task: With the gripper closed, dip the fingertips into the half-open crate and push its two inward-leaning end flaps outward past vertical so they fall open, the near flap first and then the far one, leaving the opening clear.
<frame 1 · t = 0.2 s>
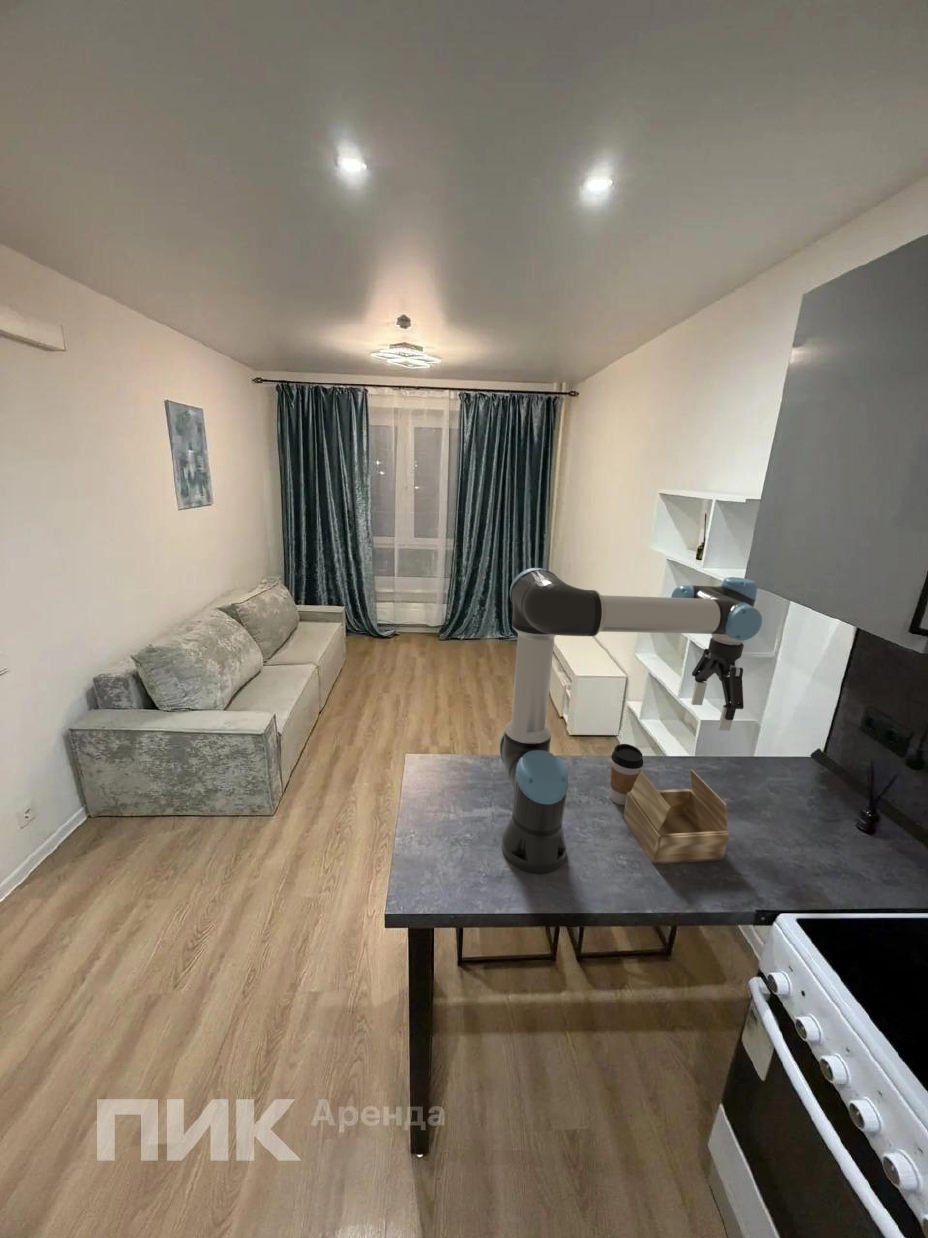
hand: (709, 716, 130), 28 cm above the table, fingers open, 13 cm apart
far flap: (708, 797, 123), point 12 cm above the table, hinge at -15.0°
crate: (670, 838, 126), on the table
near flap: (649, 799, 121), point 12 cm above the table, hinge at -15.0°
coffee cup: (620, 798, 140), on the table
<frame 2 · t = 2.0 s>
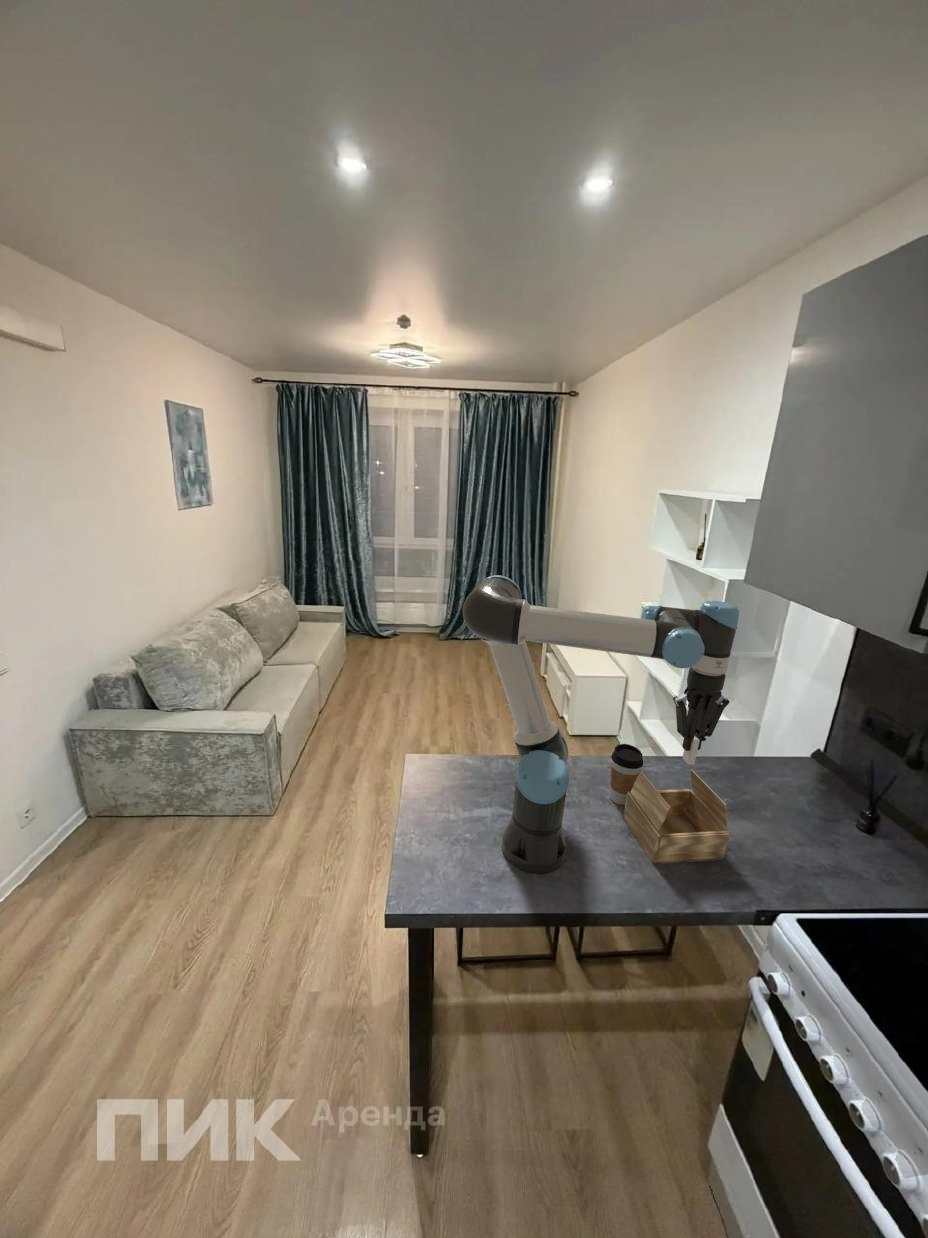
hand: (688, 761, 119), 22 cm above the table, fingers closed
nothing on the table moved.
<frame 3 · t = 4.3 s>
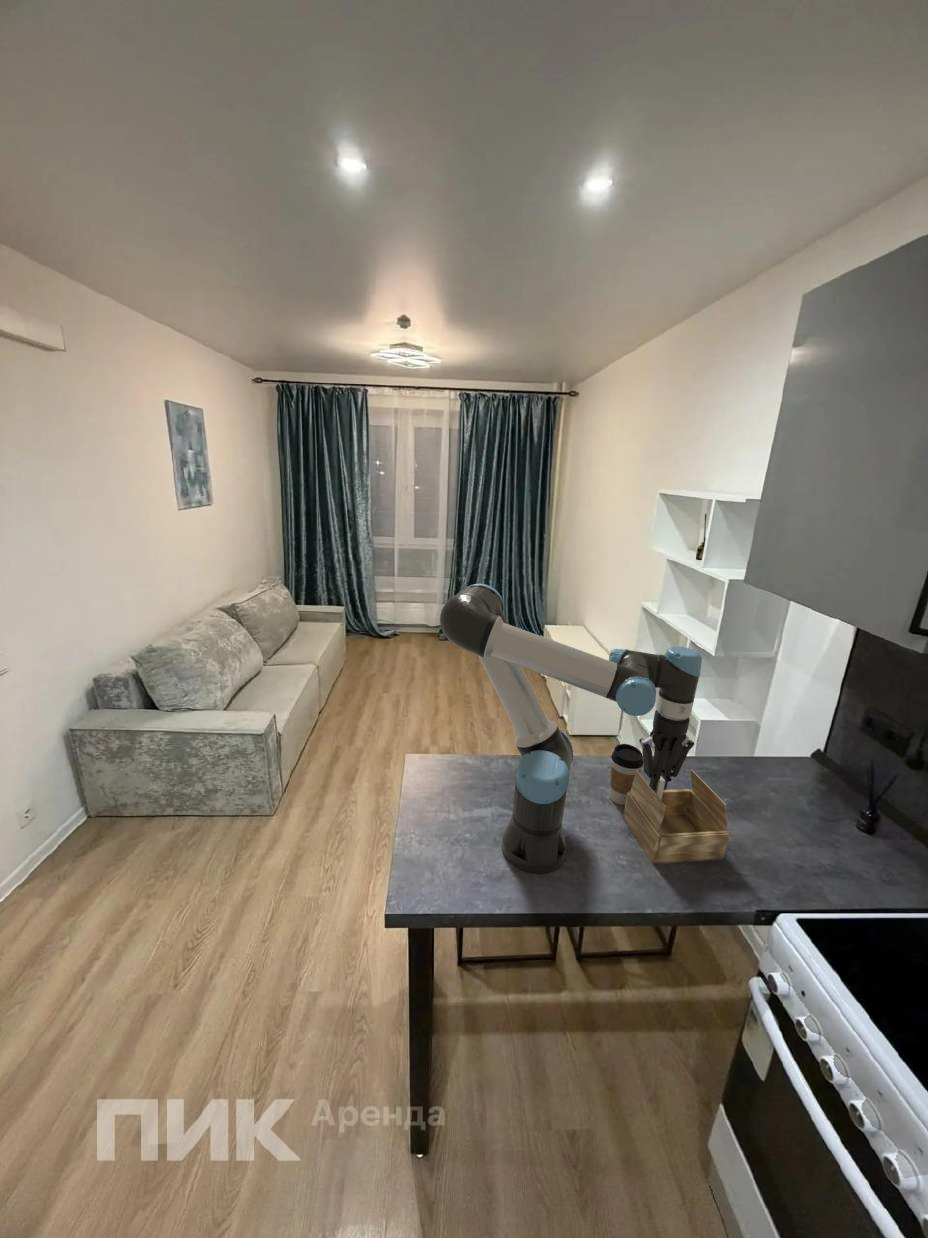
hand: (655, 800, 121), 11 cm above the table, fingers closed
near flap: (647, 799, 121), point 12 cm above the table, hinge at -4.6°, touching gripper
everything else where it was.
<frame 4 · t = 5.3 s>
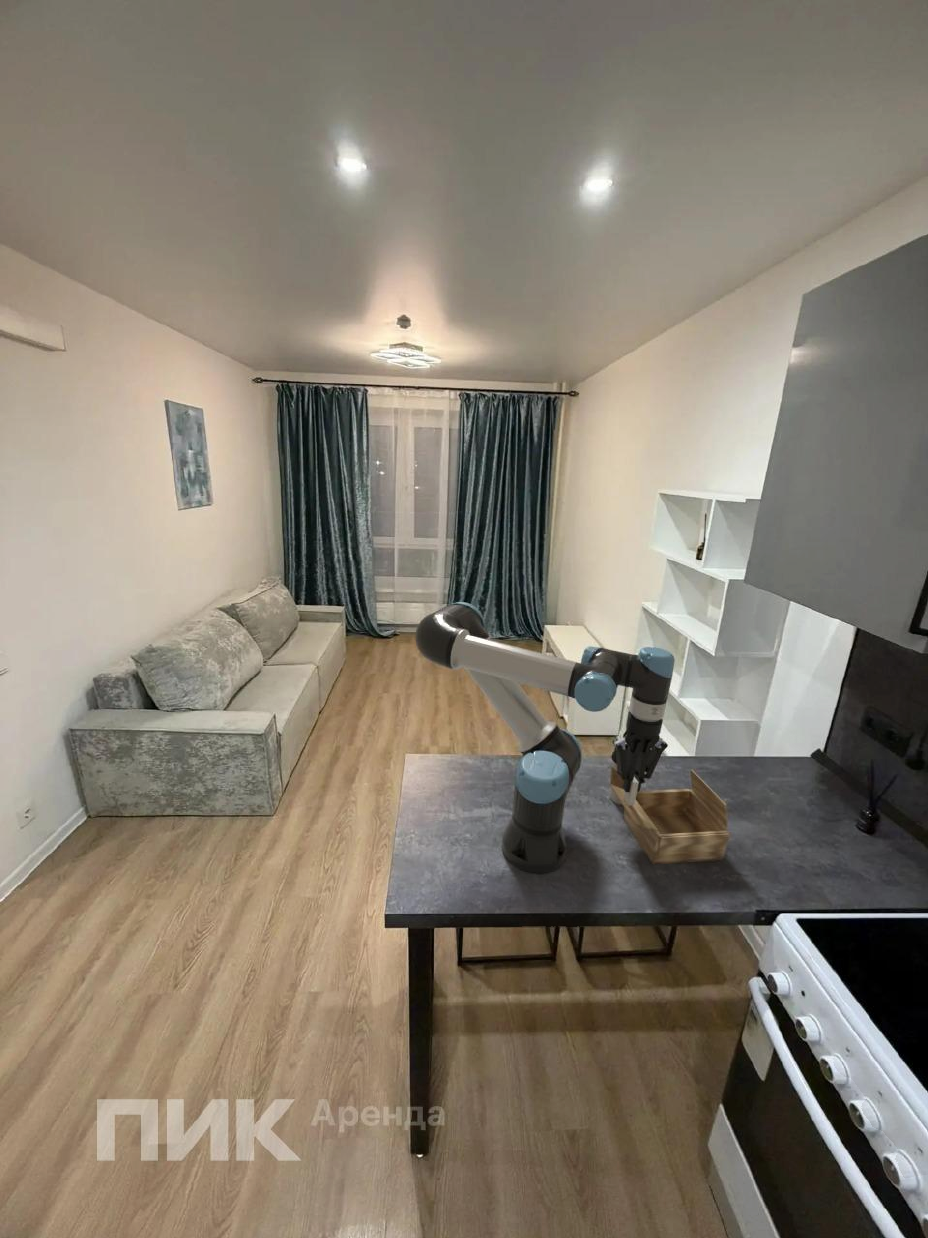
hand: (628, 801, 121), 11 cm above the table, fingers closed
near flap: (632, 806, 121), point 10 cm above the table, hinge at 65.2°, touching gripper
everything else where it was.
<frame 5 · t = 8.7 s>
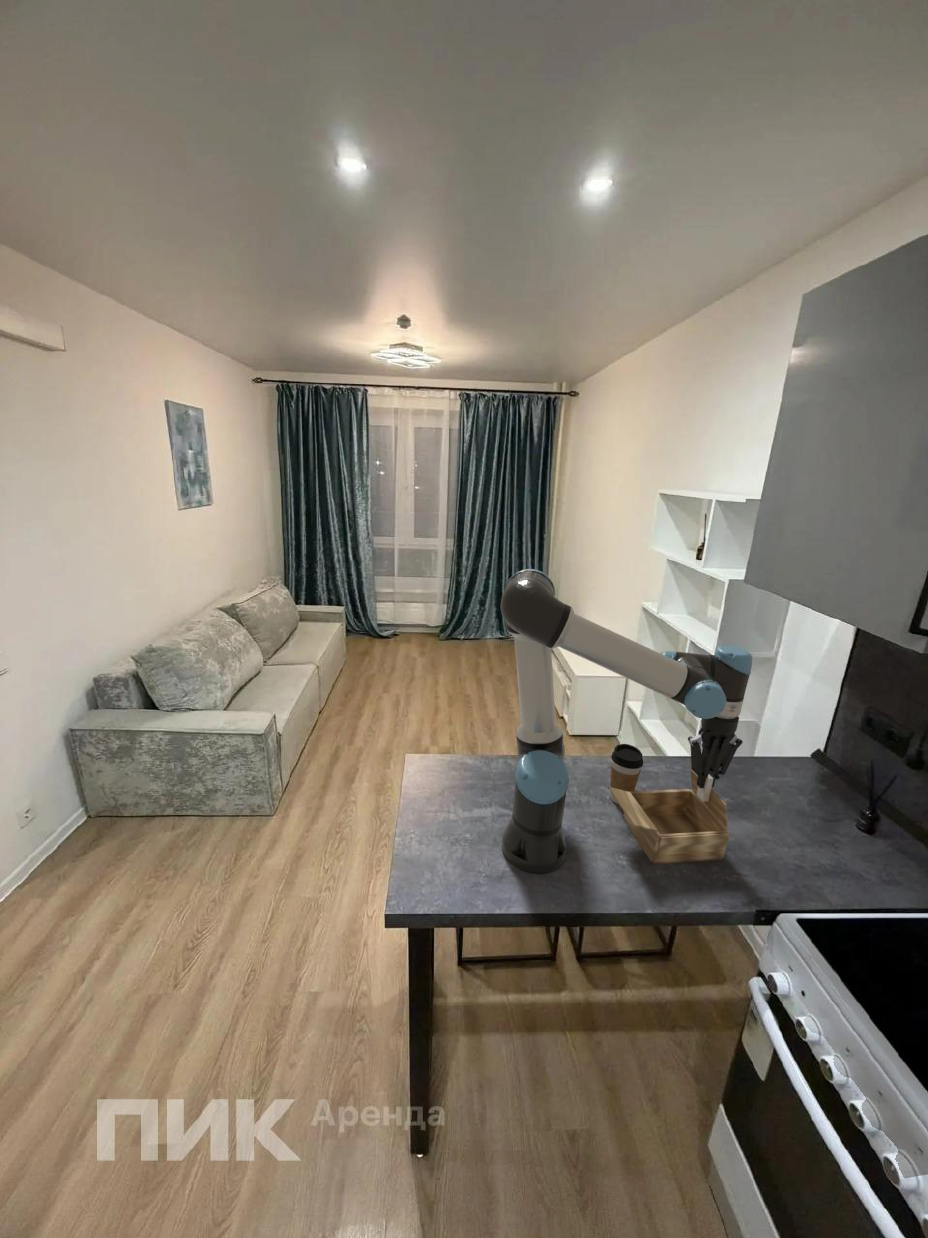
hand: (702, 797, 123), 12 cm above the table, fingers closed
far flap: (708, 797, 123), point 12 cm above the table, hinge at -14.9°, touching gripper
near flap: (631, 808, 121), point 10 cm above the table, hinge at 71.9°
everything else where it was.
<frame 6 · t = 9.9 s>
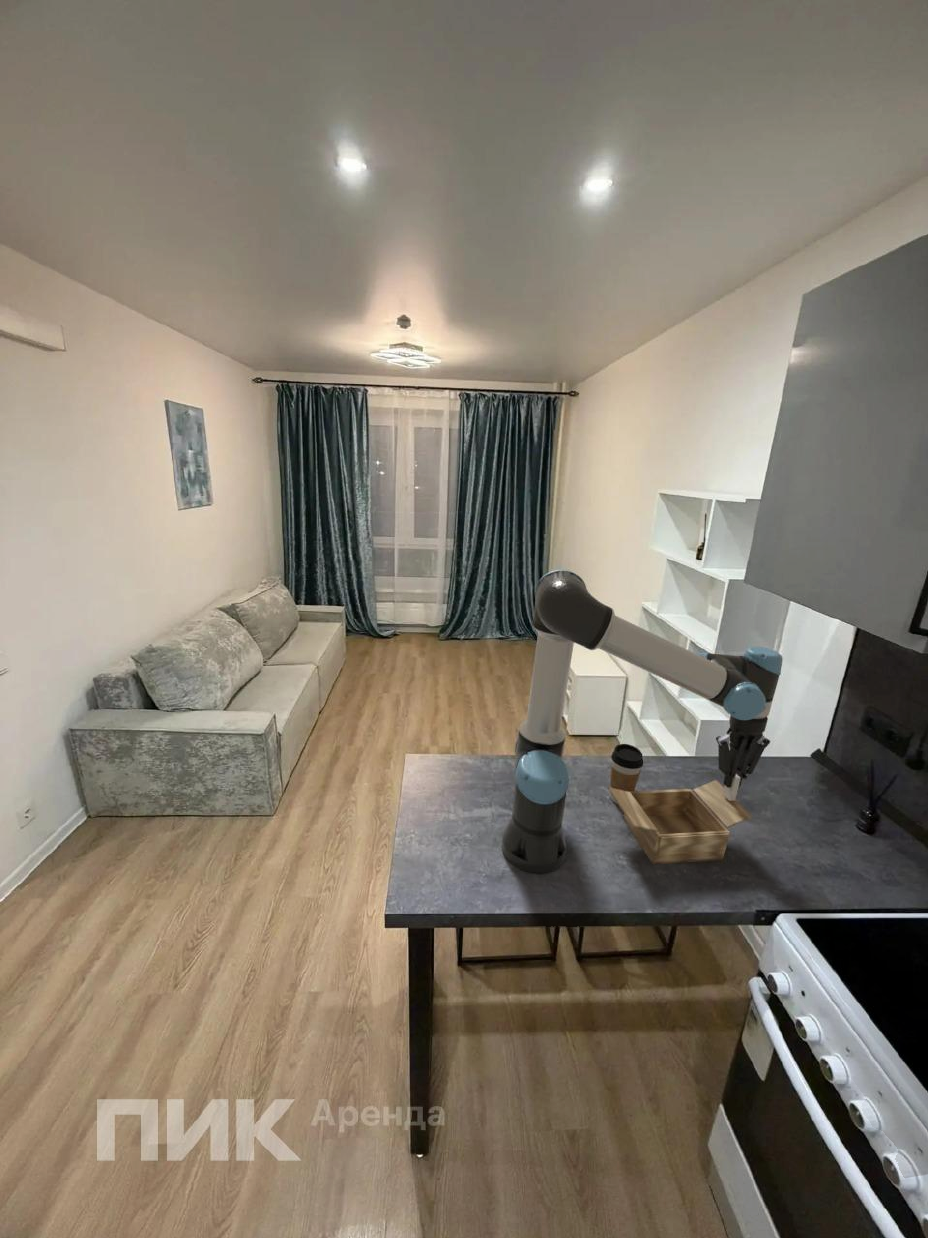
hand: (728, 797, 124), 12 cm above the table, fingers closed
far flap: (721, 802, 124), point 10 cm above the table, hinge at 64.8°, touching gripper
near flap: (631, 808, 121), point 9 cm above the table, hinge at 73.2°
everything else where it was.
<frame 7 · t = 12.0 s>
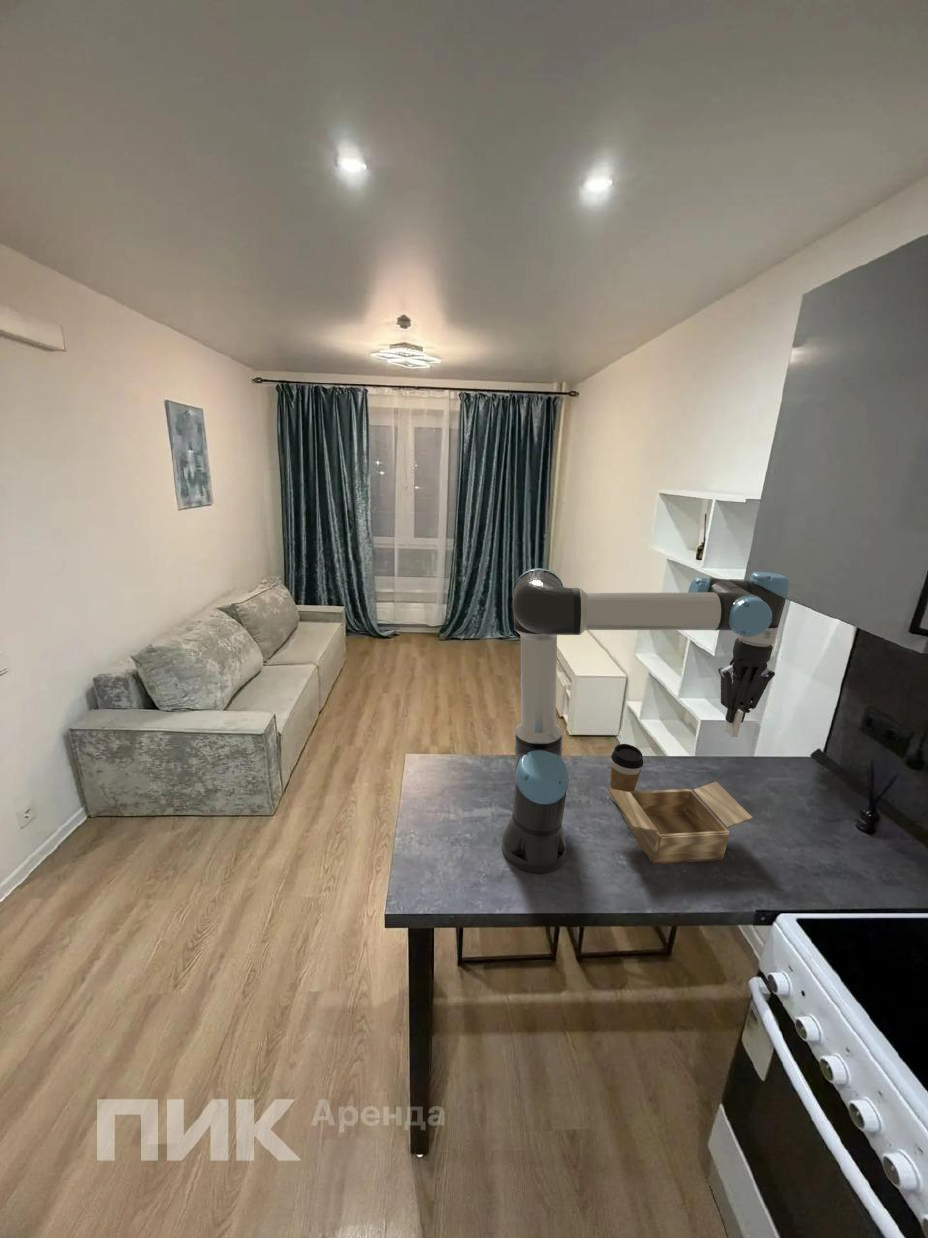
hand: (730, 733, 119), 29 cm above the table, fingers closed
far flap: (721, 803, 125), point 10 cm above the table, hinge at 69.6°
near flap: (631, 809, 121), point 9 cm above the table, hinge at 75.7°
everything else where it was.
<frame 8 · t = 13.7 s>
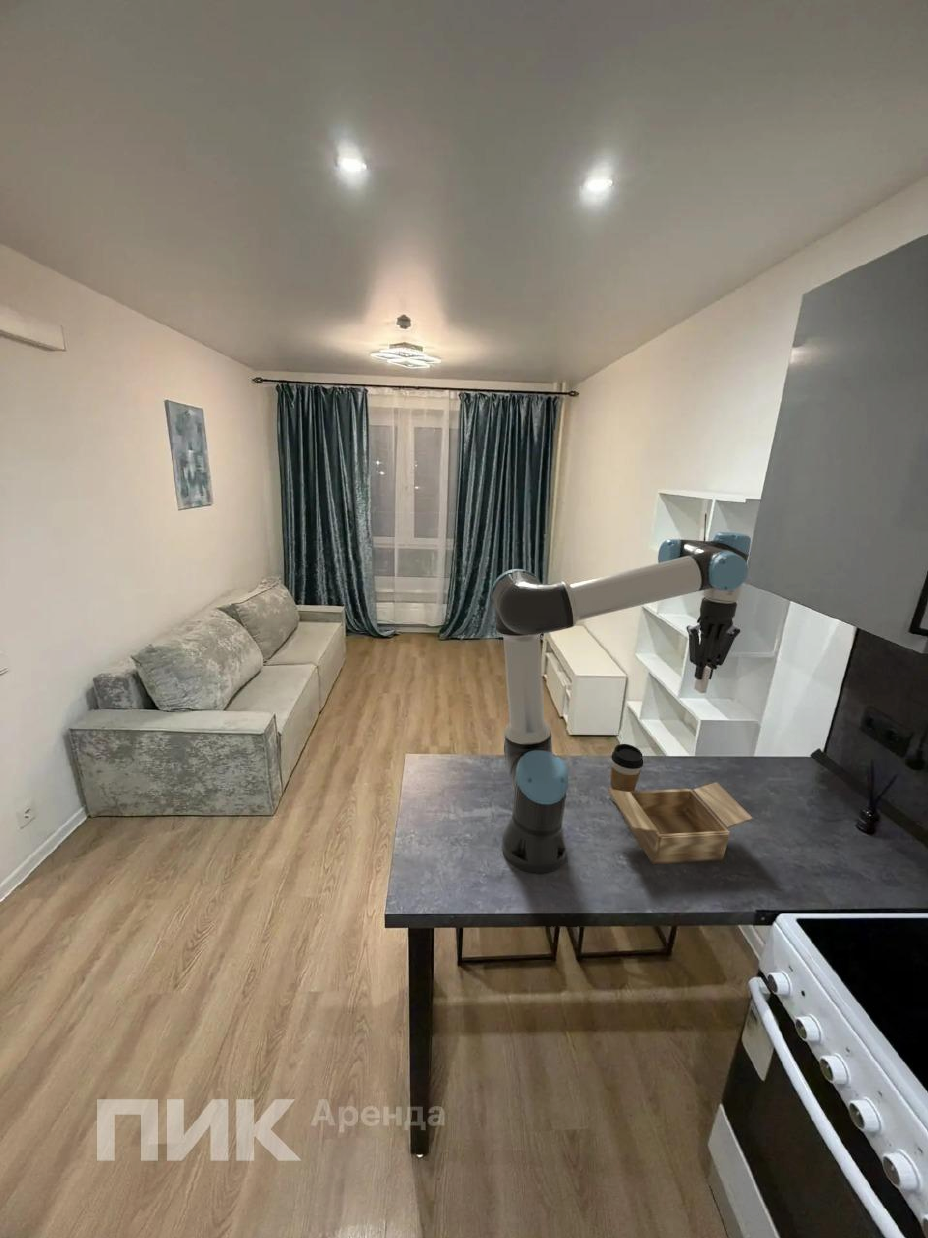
hand: (699, 690, 124), 36 cm above the table, fingers closed
far flap: (721, 803, 125), point 10 cm above the table, hinge at 71.4°
near flap: (631, 809, 121), point 9 cm above the table, hinge at 77.7°
everything else where it was.
at the end: near flap at +78° (first picture: -15°); far flap at +72° (first picture: -15°) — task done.
